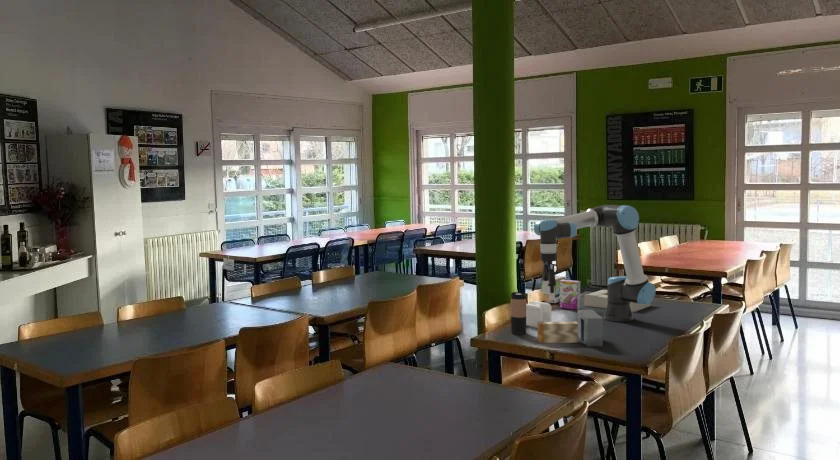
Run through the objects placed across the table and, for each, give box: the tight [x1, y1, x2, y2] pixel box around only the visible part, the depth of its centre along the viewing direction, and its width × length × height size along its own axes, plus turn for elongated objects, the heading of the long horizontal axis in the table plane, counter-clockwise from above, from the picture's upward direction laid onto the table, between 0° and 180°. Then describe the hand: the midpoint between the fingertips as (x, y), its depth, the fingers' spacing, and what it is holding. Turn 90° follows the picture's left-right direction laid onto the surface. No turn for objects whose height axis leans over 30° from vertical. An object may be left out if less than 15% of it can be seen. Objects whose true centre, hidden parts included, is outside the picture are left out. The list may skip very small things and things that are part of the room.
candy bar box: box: [558, 279, 581, 311], centre depth 403 cm, size 11×5×16 cm, turn 58°
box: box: [583, 289, 652, 313], centre depth 410 cm, size 23×8×32 cm
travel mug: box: [510, 291, 527, 336], centre depth 343 cm, size 8×8×20 cm
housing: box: [577, 309, 604, 347], centre depth 325 cm, size 7×20×13 cm, turn 0°
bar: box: [537, 321, 579, 344], centre depth 326 cm, size 18×5×9 cm, turn 89°
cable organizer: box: [526, 300, 553, 329], centre depth 360 cm, size 15×11×12 cm
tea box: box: [540, 275, 566, 304], centre depth 428 cm, size 15×10×15 cm
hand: (548, 297), depth 328 cm, fingers open, 13 cm apart
